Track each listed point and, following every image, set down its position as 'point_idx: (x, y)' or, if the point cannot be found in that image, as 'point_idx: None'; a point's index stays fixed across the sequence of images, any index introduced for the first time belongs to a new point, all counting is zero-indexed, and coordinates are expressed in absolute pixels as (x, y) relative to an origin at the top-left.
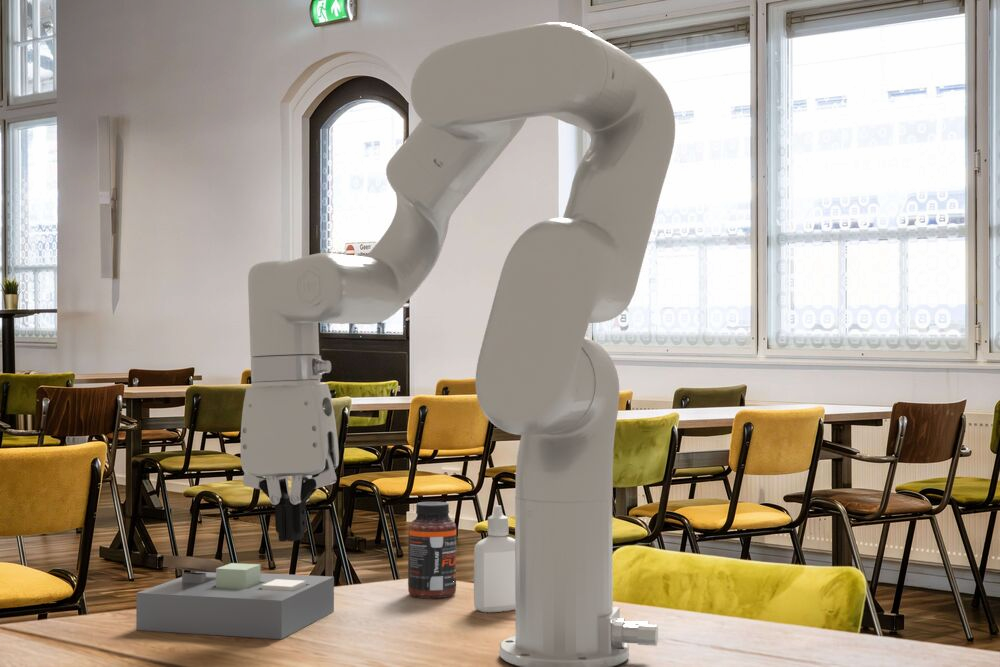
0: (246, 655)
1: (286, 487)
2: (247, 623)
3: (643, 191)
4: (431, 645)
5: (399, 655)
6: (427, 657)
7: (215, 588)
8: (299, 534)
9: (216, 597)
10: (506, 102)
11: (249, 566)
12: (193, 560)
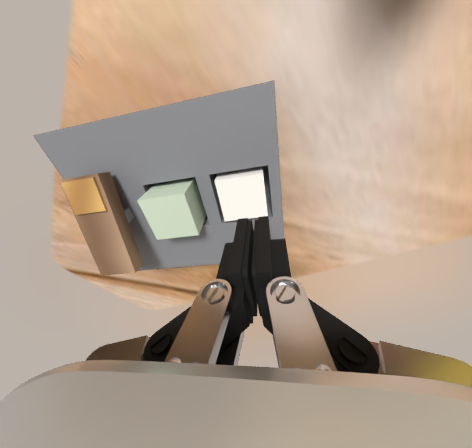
0: None
1: (223, 331)
2: None
3: None
4: (447, 203)
5: (411, 242)
6: (441, 240)
7: None
8: (270, 236)
9: (210, 264)
10: None
11: (183, 213)
12: (134, 261)
